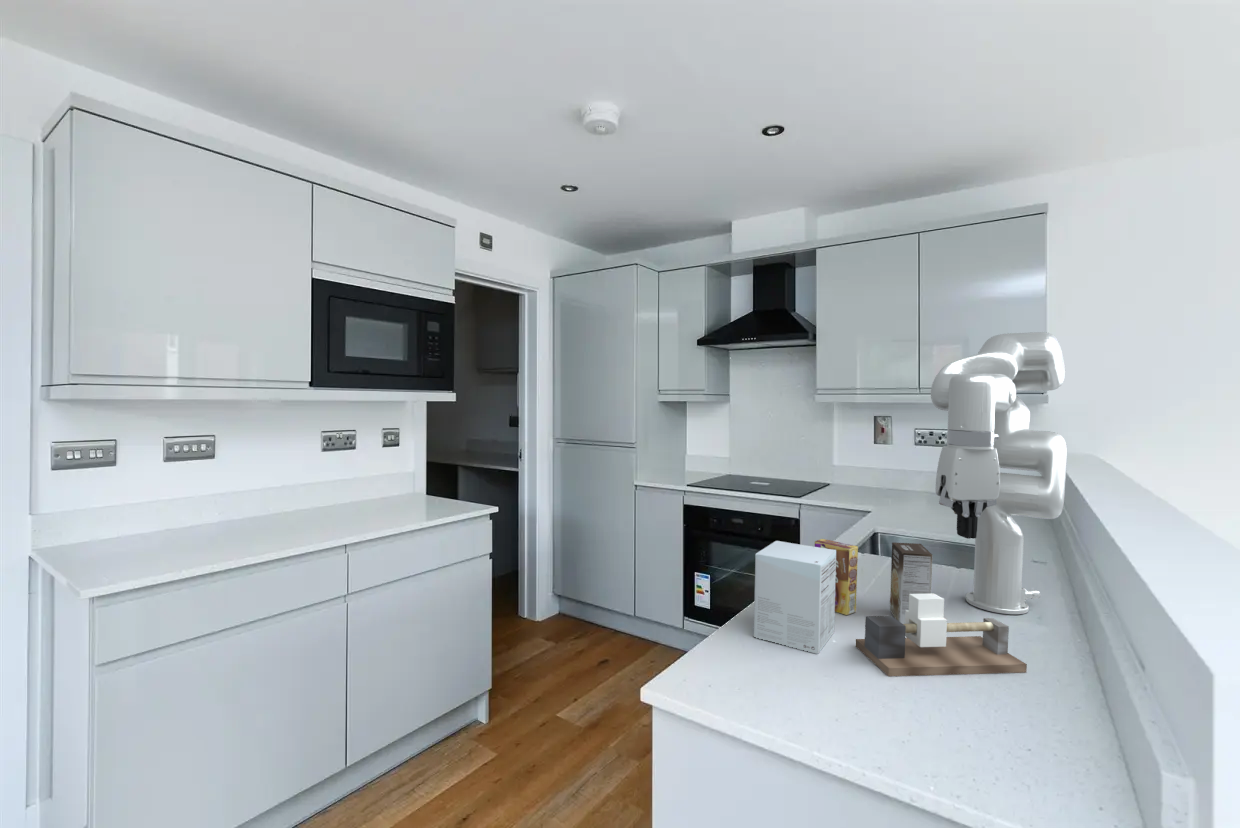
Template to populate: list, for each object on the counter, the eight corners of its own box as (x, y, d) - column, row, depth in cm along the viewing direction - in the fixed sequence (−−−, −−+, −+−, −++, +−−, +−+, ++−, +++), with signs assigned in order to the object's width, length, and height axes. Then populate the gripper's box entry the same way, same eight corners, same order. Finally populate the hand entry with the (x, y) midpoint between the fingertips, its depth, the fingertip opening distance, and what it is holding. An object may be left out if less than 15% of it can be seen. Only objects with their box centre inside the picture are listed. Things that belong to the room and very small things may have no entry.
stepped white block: (929, 635, 112) (930, 591, 112) (946, 646, 107) (947, 601, 107) (904, 635, 112) (906, 592, 111) (920, 647, 107) (921, 601, 106)
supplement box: (835, 632, 122) (838, 549, 121) (818, 655, 111) (821, 564, 110) (773, 617, 129) (775, 539, 128) (752, 638, 118) (754, 553, 117)
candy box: (857, 612, 133) (859, 545, 132) (847, 616, 130) (849, 548, 130) (822, 600, 140) (823, 537, 139) (811, 604, 137) (813, 540, 137)
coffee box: (888, 610, 134) (890, 541, 134) (918, 612, 133) (920, 543, 132) (899, 625, 125) (901, 552, 125) (931, 628, 124) (934, 554, 124)
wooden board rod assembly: (979, 643, 117) (981, 606, 117) (1026, 672, 105) (1028, 631, 105) (855, 646, 115) (856, 609, 114) (888, 676, 103) (890, 634, 102)
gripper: (993, 438, 113) (989, 531, 114) (920, 438, 112) (917, 532, 113) (1022, 441, 106) (1018, 541, 107) (945, 441, 105) (941, 542, 106)
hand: (966, 536), depth 110 cm, fingers closed
